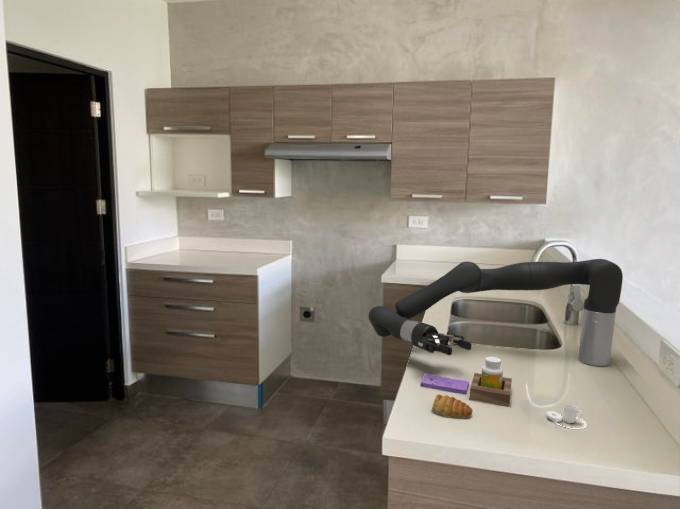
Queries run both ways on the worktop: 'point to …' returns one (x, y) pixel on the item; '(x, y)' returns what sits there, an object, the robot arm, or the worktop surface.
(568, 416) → the teacup and saucer
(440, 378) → the sponges
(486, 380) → the supplement bottle
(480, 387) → the bottle holder
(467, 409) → the pastry
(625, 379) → the worktop surface
